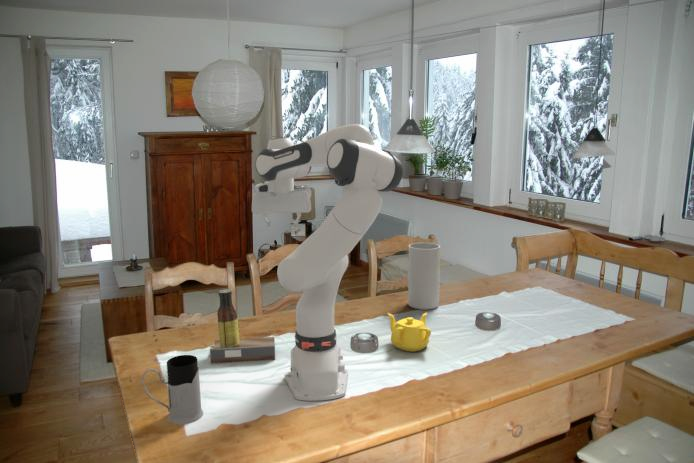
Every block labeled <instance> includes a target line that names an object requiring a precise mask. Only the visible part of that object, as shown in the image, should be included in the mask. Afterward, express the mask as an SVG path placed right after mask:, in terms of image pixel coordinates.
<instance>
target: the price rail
mask: <svg viewBox="0 0 694 463" xmlns="http://www.w3.org/2000/svg"><path fill="white" fill-rule="evenodd" d="M275 346H276V345H264V346H248V347H231V348H215V349H213V348H210V349H209V353H210V354H209V355H210V360H211V359H223V358H239V357H255V356H270V355H275V356H276V352H275V351H276V350H275V349H276V347H275Z"/></svg>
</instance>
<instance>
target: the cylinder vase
mask: <svg viewBox="0 0 694 463" xmlns="http://www.w3.org/2000/svg"><path fill="white" fill-rule="evenodd" d="M440 263H441V245H439V244H437V243H432V242H415V243H410V244H408V272H407V273H408V278H407V280H408V282H407V283H408V284H407V285H408V287H407V288H408V289H407V290H408V292H407V293H408V294H407V304H408V307H410V308H413V309H416V310H423V311H424V310H427V311H428V310H433V309H434V310H435V309H437V308H438V307H439V304H440V277H441V276H440V275H441V274H440V273H441V271H440V268H441V266H440V265H441V264H440Z"/></svg>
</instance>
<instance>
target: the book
mask: <svg viewBox="0 0 694 463" xmlns="http://www.w3.org/2000/svg"><path fill="white" fill-rule="evenodd" d="M264 345H275V336H267V337H266V336H265V337H262V336H261V337H248V338H247V337H246V338H239V347H248V346H264ZM275 346H276V345H275ZM215 348H221V346H220V339H215V340H214V343H213V348H212V349H215ZM273 360H276V354H275V355H270V356H255V357H239V358H223V359H211V358H210V364H211V365H213V364H227V363H230V364H231V363H242V362H243V363H244V362H259V361H273Z"/></svg>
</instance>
